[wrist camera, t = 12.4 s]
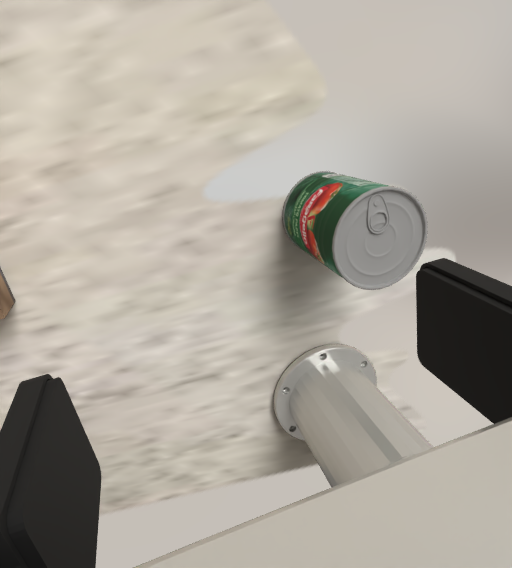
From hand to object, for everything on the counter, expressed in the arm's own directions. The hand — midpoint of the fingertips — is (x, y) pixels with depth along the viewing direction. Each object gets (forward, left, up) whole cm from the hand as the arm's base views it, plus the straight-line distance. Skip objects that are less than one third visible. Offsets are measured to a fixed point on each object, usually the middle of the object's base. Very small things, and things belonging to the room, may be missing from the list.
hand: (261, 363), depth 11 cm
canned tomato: (-5, -14, -28) cm, 32 cm away
